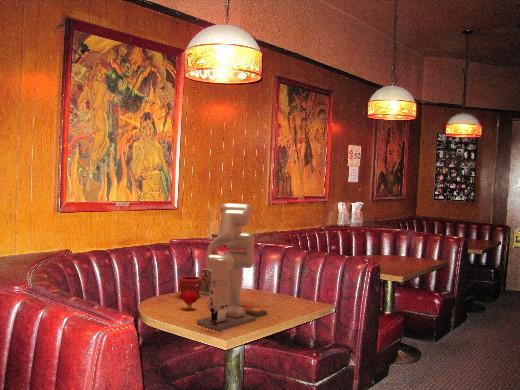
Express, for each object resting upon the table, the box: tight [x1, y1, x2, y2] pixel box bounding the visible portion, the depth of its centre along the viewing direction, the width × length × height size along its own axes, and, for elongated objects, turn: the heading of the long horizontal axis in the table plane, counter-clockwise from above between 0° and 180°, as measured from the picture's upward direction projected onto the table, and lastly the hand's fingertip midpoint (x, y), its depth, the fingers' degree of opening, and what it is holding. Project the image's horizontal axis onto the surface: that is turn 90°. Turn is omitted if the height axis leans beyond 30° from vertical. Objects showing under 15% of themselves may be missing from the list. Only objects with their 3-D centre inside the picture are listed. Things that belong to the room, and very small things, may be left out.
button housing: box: [245, 308, 268, 318], centre depth 272 cm, size 8×8×3 cm
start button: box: [250, 307, 263, 312], centre depth 272 cm, size 4×4×2 cm
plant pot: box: [179, 275, 201, 298], centre depth 308 cm, size 13×13×12 cm
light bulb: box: [181, 291, 199, 310], centre depth 281 cm, size 9×7×10 cm
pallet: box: [196, 311, 257, 333], centre depth 256 cm, size 16×26×2 cm, turn 139°
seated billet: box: [228, 306, 244, 319], centre depth 261 cm, size 5×5×6 cm
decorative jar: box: [199, 267, 212, 296], centre depth 319 cm, size 12×12×18 cm
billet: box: [212, 307, 227, 322], centre depth 251 cm, size 5×5×6 cm
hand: (218, 318), depth 252 cm, fingers closed on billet, 5 cm apart
